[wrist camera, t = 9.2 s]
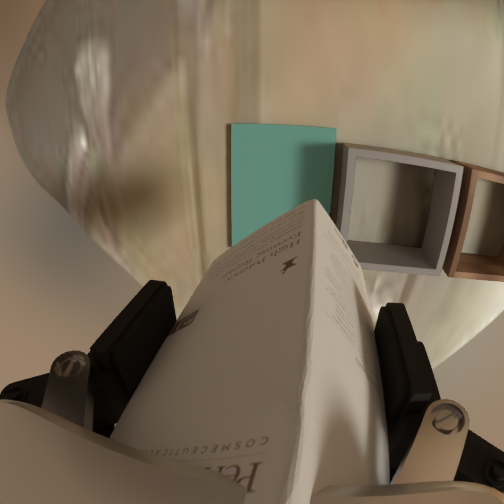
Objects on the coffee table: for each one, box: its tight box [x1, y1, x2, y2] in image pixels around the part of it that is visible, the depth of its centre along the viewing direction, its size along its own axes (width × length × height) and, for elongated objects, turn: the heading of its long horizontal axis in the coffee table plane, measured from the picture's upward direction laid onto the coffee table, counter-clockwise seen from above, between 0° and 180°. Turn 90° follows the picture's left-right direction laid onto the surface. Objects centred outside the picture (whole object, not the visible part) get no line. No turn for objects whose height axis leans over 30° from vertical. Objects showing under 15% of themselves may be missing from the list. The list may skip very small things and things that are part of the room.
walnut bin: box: [442, 160, 504, 282], centre depth 22 cm, size 10×10×4 cm
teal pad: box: [231, 124, 336, 247], centre depth 27 cm, size 9×12×1 cm
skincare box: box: [109, 199, 390, 504], centre depth 9 cm, size 6×4×12 cm
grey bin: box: [336, 143, 463, 276], centre depth 24 cm, size 10×10×4 cm
